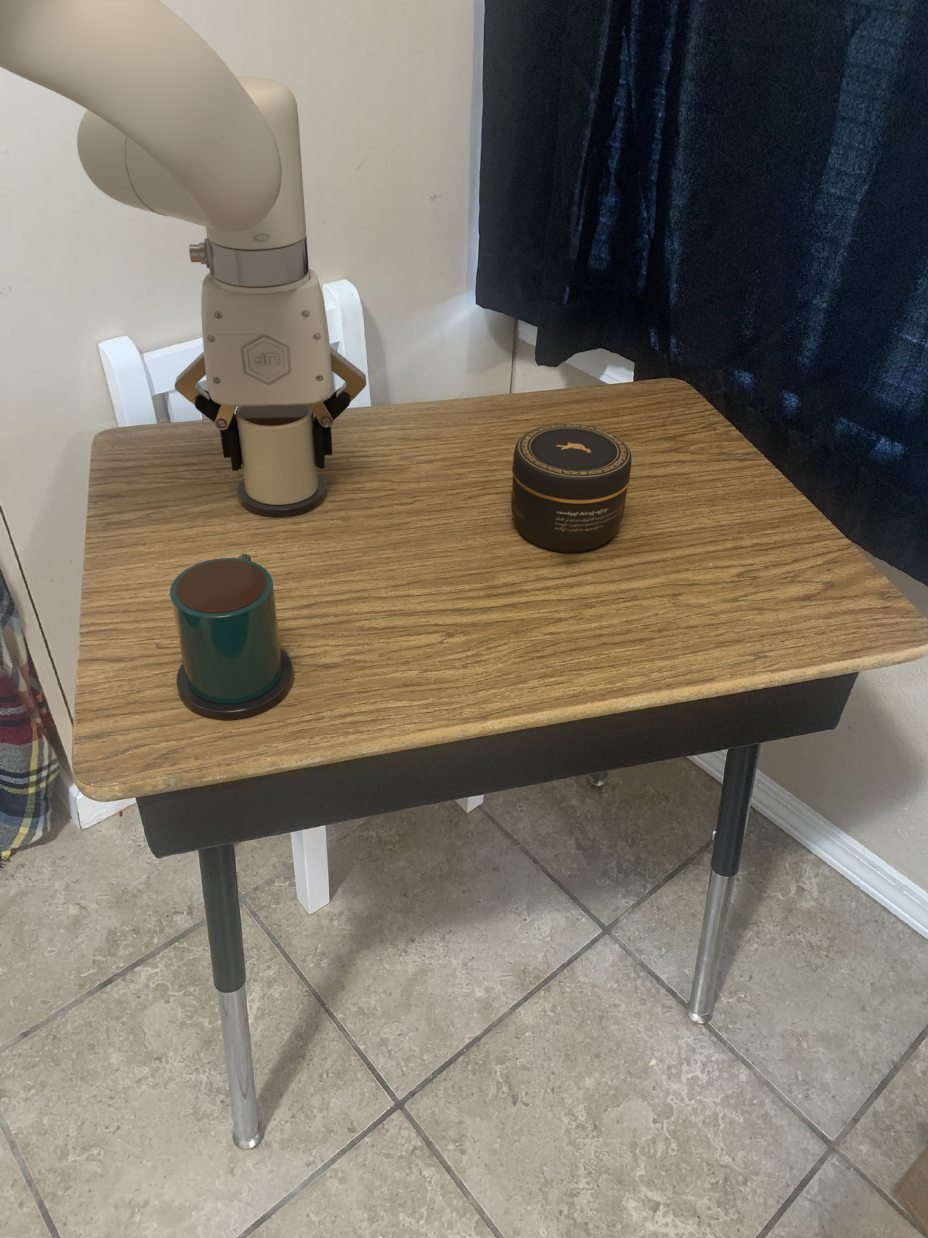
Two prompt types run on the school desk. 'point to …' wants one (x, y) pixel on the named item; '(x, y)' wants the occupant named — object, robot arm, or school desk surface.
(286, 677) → the saucer front
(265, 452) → the cup back
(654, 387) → the school desk surface
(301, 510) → the dark grey round coaster
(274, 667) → the cup front
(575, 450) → the jar
